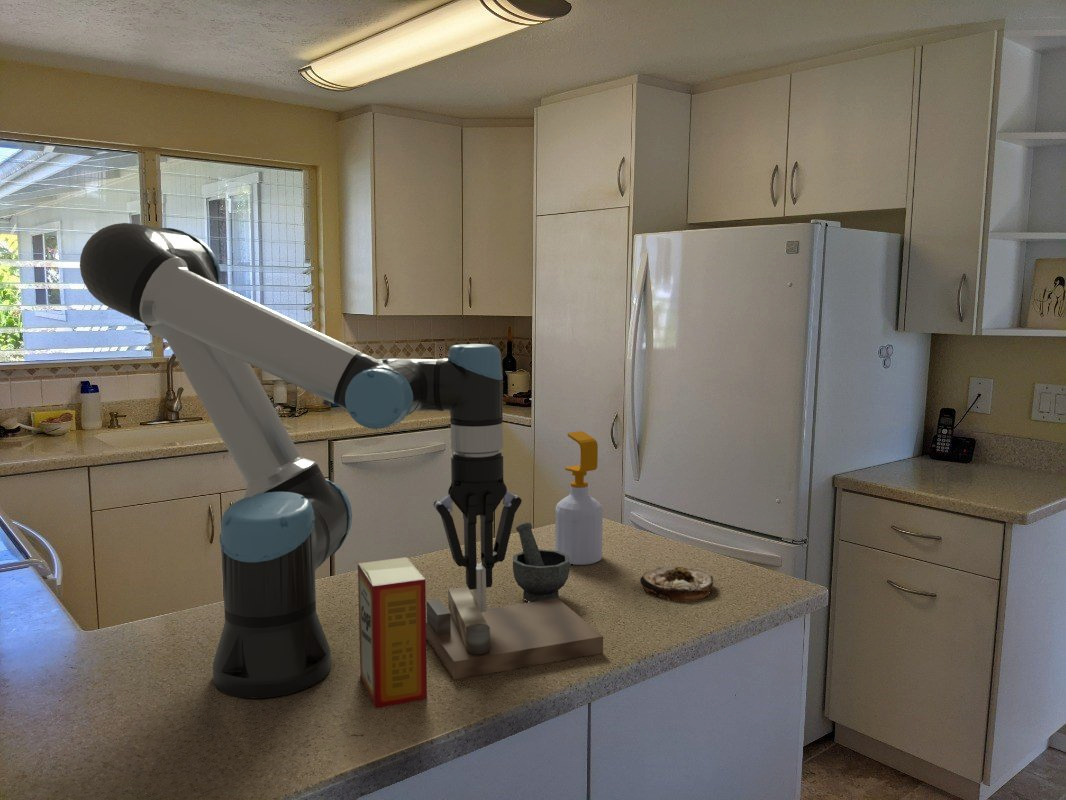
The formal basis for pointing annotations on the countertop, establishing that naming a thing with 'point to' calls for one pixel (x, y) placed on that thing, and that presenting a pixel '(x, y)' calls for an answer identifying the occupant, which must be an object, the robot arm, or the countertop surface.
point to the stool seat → (513, 637)
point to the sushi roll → (677, 583)
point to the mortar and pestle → (539, 568)
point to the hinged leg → (469, 621)
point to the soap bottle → (580, 510)
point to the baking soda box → (392, 631)
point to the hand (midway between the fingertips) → (479, 608)
